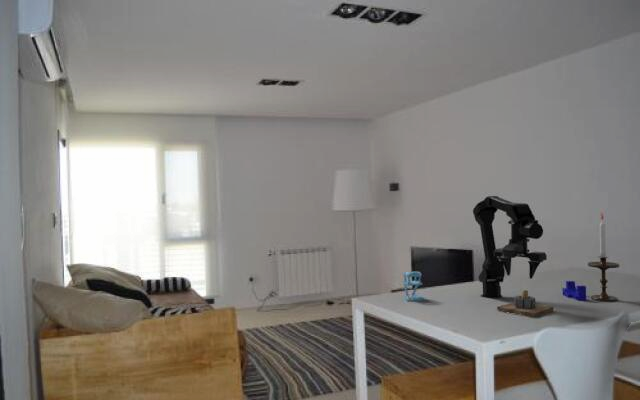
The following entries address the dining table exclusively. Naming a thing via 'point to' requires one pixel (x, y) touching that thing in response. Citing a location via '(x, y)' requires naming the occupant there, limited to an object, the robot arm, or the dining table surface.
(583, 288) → the cable clip
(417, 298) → the chair
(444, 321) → the dining table surface
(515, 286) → the dining table surface
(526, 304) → the ring
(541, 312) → the post block
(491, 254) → the robot arm
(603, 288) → the candlestick
